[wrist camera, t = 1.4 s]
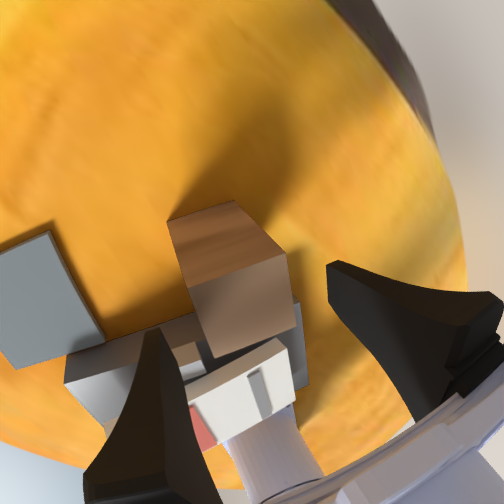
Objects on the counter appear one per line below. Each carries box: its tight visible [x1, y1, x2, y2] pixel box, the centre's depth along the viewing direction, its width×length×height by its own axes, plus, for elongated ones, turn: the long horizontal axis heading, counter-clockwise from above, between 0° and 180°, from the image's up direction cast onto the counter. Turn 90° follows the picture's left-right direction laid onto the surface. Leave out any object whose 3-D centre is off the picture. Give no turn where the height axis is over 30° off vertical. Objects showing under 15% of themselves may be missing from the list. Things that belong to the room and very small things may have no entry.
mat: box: [0, 230, 106, 370], centre depth 16 cm, size 8×8×1 cm
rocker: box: [103, 338, 296, 453], centre depth 18 cm, size 6×12×1 cm, turn 100°
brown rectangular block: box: [167, 200, 296, 358], centre depth 16 cm, size 4×4×7 cm
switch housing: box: [64, 293, 309, 427], centre depth 21 cm, size 9×16×4 cm, turn 101°
